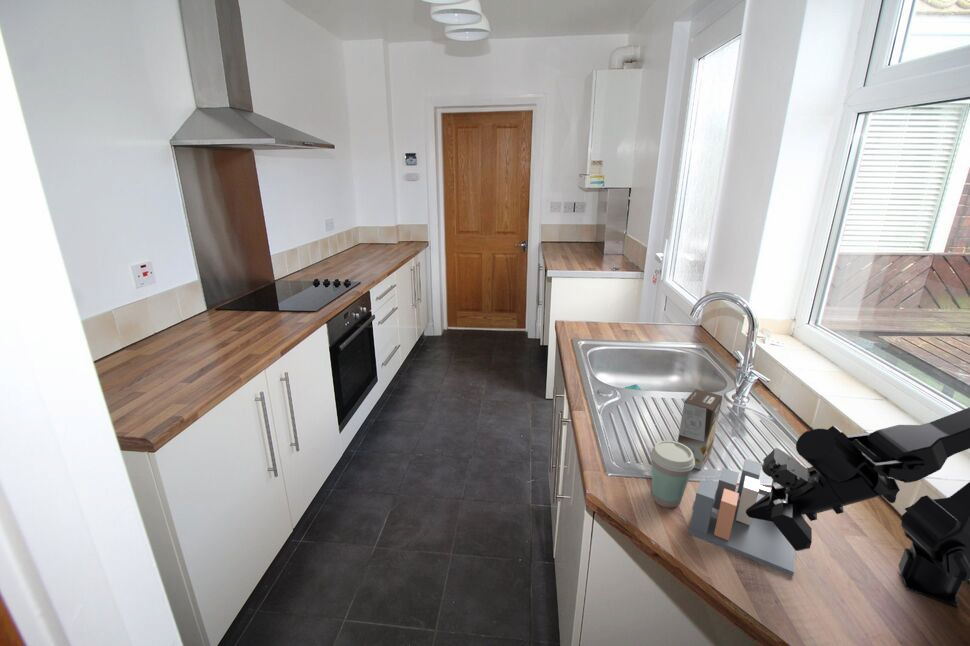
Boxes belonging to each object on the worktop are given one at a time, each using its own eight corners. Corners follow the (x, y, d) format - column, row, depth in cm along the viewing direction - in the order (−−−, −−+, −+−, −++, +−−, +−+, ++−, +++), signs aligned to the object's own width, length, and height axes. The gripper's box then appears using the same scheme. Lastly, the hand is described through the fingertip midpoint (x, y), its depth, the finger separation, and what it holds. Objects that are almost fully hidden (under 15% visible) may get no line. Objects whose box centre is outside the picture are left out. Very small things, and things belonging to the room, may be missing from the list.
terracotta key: (731, 527, 86) (739, 493, 84) (728, 540, 83) (736, 506, 81) (692, 512, 90) (698, 479, 88) (688, 524, 87) (694, 491, 84)
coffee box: (701, 471, 104) (713, 410, 99) (673, 460, 108) (683, 401, 103) (712, 452, 111) (723, 395, 106) (685, 443, 115) (694, 387, 110)
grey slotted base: (794, 512, 92) (805, 474, 89) (792, 576, 78) (805, 534, 74) (704, 481, 101) (711, 446, 98) (688, 534, 87) (695, 494, 83)
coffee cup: (688, 517, 91) (697, 467, 87) (644, 506, 94) (651, 458, 90) (686, 490, 98) (694, 443, 94) (645, 481, 101) (652, 435, 97)
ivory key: (752, 513, 90) (760, 480, 87) (750, 525, 87) (758, 491, 84) (713, 499, 94) (720, 467, 91) (710, 511, 91) (717, 478, 88)
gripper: (803, 420, 81) (725, 451, 91) (801, 476, 67) (709, 506, 76) (846, 472, 79) (762, 498, 89) (854, 540, 65) (753, 563, 74)
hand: (747, 513), depth 82 cm, fingers closed
